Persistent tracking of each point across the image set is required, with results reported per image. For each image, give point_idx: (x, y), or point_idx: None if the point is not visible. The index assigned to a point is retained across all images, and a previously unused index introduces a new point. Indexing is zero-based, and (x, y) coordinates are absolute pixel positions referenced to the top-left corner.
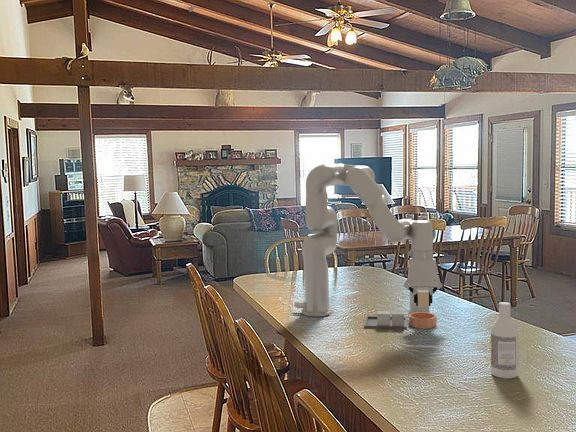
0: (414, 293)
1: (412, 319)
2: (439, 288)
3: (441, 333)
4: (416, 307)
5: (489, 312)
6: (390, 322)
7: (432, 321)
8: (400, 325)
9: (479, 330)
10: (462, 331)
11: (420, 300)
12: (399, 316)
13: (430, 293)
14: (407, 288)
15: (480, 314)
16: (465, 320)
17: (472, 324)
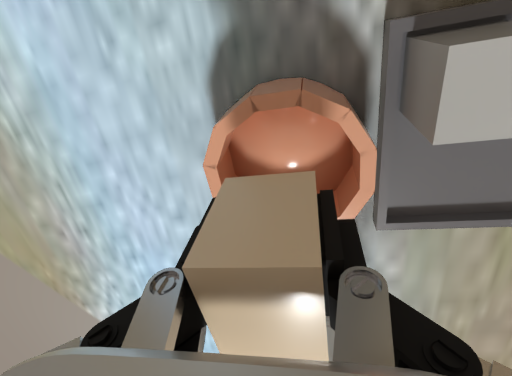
0: (365, 285)
1: (351, 109)
2: (63, 344)
3: (165, 13)
4: (328, 318)
5: (105, 316)
6: (484, 152)
7: (222, 117)
8: (442, 33)
9: (34, 125)
10: (86, 89)
11: (289, 207)
12: (488, 36)
13: (177, 286)
14: (502, 370)
15: (120, 301)
16: (137, 243)
17: (95, 201)
